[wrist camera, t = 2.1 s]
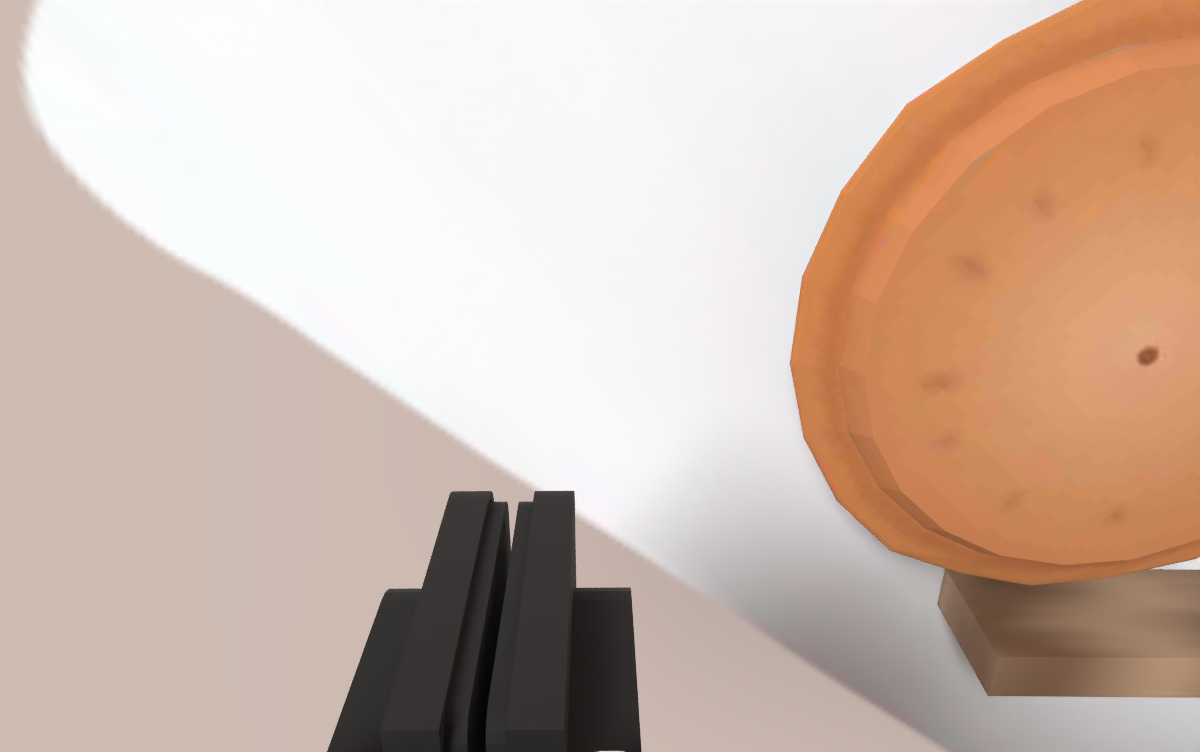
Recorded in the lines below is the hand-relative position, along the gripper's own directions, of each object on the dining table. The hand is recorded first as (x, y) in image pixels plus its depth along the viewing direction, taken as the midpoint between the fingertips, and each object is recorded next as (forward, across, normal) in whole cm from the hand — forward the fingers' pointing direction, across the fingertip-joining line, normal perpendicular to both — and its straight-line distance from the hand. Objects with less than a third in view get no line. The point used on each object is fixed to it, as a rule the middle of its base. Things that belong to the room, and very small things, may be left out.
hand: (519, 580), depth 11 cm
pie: (+13, -14, 0) cm, 19 cm away
